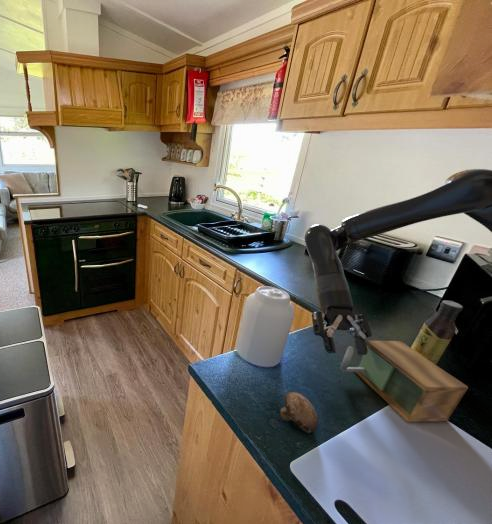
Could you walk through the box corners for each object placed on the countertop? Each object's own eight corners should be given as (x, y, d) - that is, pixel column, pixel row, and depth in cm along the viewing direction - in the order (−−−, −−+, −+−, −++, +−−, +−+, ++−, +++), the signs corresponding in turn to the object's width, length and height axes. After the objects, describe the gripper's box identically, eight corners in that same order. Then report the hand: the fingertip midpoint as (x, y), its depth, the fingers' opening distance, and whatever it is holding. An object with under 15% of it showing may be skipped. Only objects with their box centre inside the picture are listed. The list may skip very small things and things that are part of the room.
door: (356, 390, 70) (368, 363, 67) (334, 368, 77) (344, 342, 74) (383, 390, 71) (396, 363, 68) (359, 368, 78) (370, 343, 75)
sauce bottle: (404, 351, 89) (432, 294, 82) (431, 359, 86) (462, 301, 79) (409, 363, 84) (440, 304, 77) (438, 372, 81) (472, 311, 74)
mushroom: (268, 404, 62) (293, 390, 59) (278, 397, 68) (301, 384, 65) (294, 444, 58) (322, 431, 55) (302, 432, 64) (327, 420, 61)
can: (258, 337, 91) (272, 279, 84) (290, 363, 80) (310, 299, 73) (226, 344, 86) (238, 284, 79) (255, 373, 75) (273, 306, 68)
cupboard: (407, 421, 64) (426, 387, 61) (353, 370, 79) (366, 340, 76) (447, 421, 65) (468, 387, 62) (386, 370, 80) (401, 341, 76)
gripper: (318, 287, 76) (331, 351, 69) (368, 290, 77) (386, 353, 71) (300, 294, 82) (311, 354, 76) (346, 297, 84) (361, 356, 77)
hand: (347, 353), depth 73 cm, fingers open, 8 cm apart
